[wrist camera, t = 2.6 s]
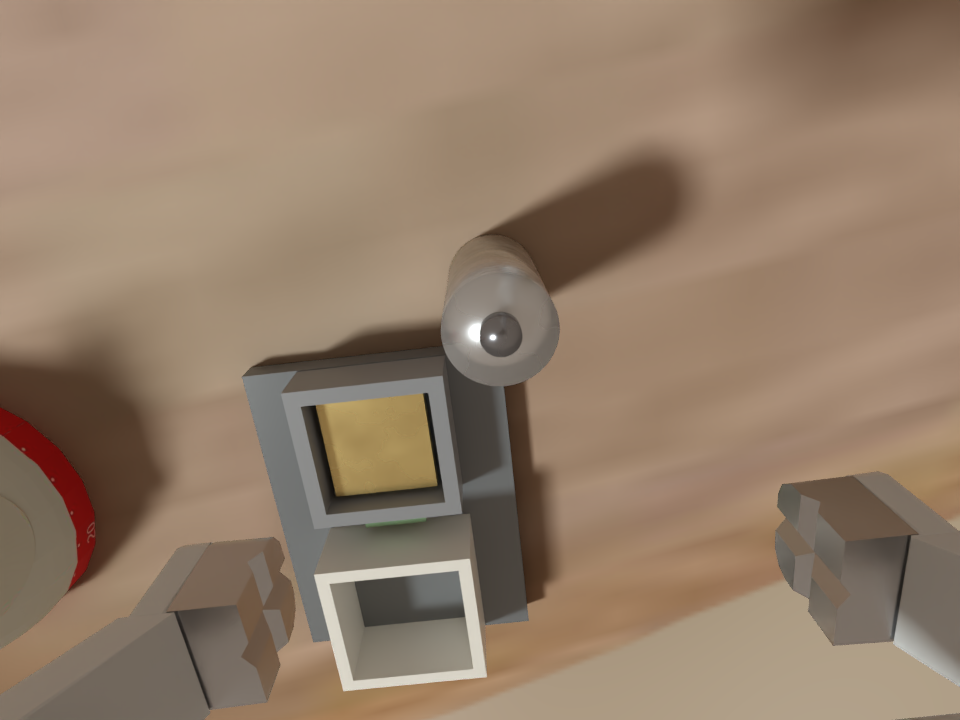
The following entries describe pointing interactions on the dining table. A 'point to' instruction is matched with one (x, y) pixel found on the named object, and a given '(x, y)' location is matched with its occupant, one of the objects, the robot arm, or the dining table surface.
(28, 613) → the kitchen timer
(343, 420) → the plate
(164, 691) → the robot arm
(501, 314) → the cell
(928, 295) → the dining table surface
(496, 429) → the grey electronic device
